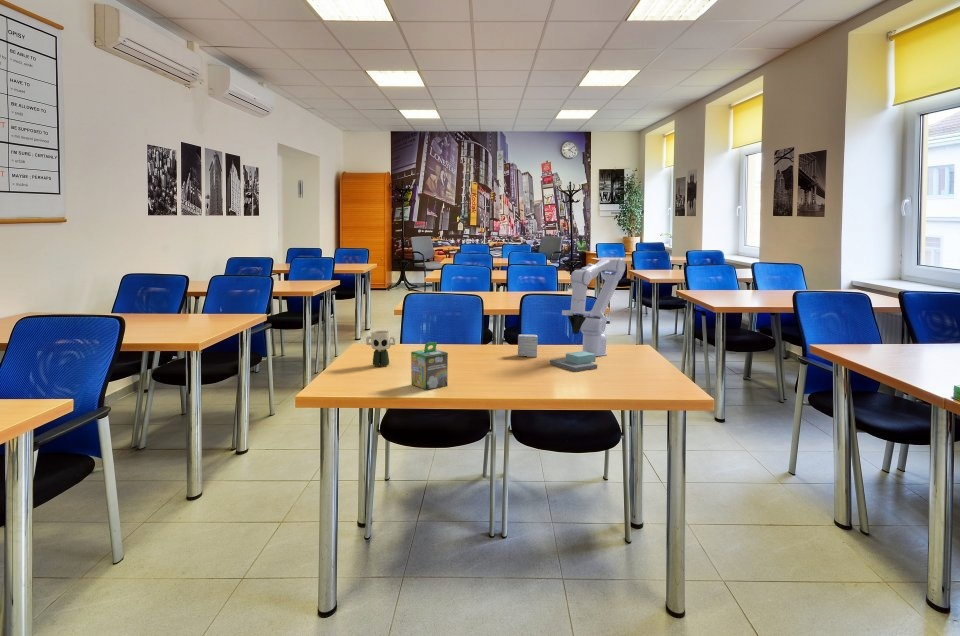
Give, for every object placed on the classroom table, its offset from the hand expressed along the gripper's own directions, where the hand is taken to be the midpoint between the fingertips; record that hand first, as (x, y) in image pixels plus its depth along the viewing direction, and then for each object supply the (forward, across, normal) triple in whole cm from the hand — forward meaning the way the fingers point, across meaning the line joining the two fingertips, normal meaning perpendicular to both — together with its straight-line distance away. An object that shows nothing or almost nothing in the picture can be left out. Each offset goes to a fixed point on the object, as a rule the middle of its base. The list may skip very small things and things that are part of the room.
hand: (575, 333), depth 257 cm
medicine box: (+12, +12, -15) cm, 22 cm away
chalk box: (+18, +69, +8) cm, 72 cm away
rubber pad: (+12, +8, +9) cm, 17 cm away
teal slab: (+8, 0, +9) cm, 12 cm away
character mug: (+17, +71, -27) cm, 78 cm away
